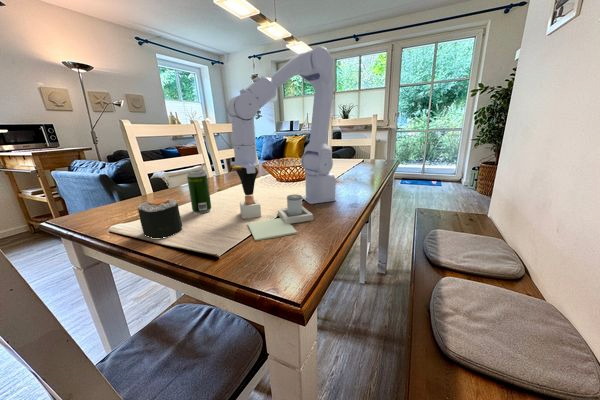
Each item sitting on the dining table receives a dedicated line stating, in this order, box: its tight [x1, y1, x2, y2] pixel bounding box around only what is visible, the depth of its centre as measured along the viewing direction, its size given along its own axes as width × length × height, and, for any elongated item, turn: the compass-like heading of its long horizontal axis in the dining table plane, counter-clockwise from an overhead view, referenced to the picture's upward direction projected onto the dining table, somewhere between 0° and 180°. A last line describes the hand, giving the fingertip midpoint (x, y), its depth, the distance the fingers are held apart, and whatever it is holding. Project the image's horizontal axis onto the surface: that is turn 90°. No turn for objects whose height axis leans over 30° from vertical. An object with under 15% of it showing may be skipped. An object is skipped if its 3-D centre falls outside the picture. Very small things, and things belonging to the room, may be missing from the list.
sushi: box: [136, 198, 183, 239], centre depth 60 cm, size 8×8×8 cm
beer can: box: [186, 169, 212, 215], centre depth 73 cm, size 5×5×12 cm
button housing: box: [239, 199, 262, 219], centre depth 70 cm, size 5×5×4 cm
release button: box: [244, 194, 255, 205], centre depth 70 cm, size 2×2×2 cm
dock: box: [277, 205, 314, 225], centre depth 68 cm, size 8×8×2 cm
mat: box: [247, 217, 298, 242], centre depth 61 cm, size 10×10×1 cm
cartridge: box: [286, 193, 303, 217], centre depth 67 cm, size 4×4×6 cm
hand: (248, 194), depth 69 cm, fingers closed
